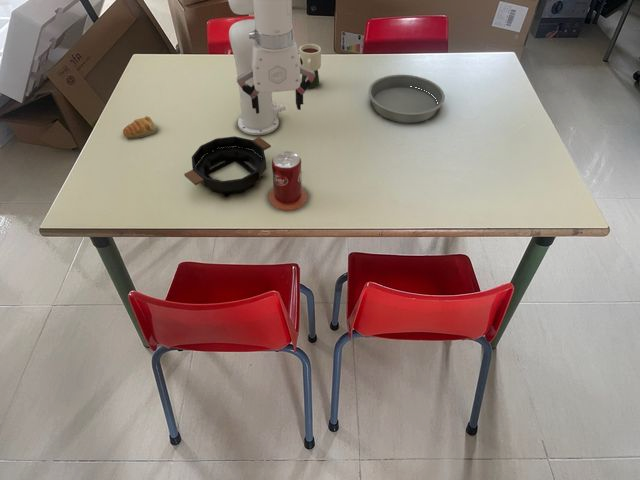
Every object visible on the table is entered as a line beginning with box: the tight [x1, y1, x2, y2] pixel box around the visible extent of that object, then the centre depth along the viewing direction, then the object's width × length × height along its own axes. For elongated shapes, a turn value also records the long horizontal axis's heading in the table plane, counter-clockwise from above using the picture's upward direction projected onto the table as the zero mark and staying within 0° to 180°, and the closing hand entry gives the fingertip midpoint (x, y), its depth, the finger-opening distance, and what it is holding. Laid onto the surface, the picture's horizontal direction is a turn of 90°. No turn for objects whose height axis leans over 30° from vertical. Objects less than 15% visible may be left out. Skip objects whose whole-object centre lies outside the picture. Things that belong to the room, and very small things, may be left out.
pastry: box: [122, 115, 157, 139], centre depth 142 cm, size 9×7×4 cm
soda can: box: [271, 151, 303, 204], centre depth 120 cm, size 7×7×12 cm
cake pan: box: [368, 74, 446, 124], centre depth 155 cm, size 25×25×4 cm
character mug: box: [298, 43, 322, 89], centre depth 159 cm, size 11×7×13 cm, turn 176°
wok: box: [183, 135, 272, 198], centre depth 128 cm, size 24×19×6 cm
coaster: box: [268, 187, 308, 212], centre depth 125 cm, size 10×10×1 cm
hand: (277, 108), depth 110 cm, fingers open, 9 cm apart
